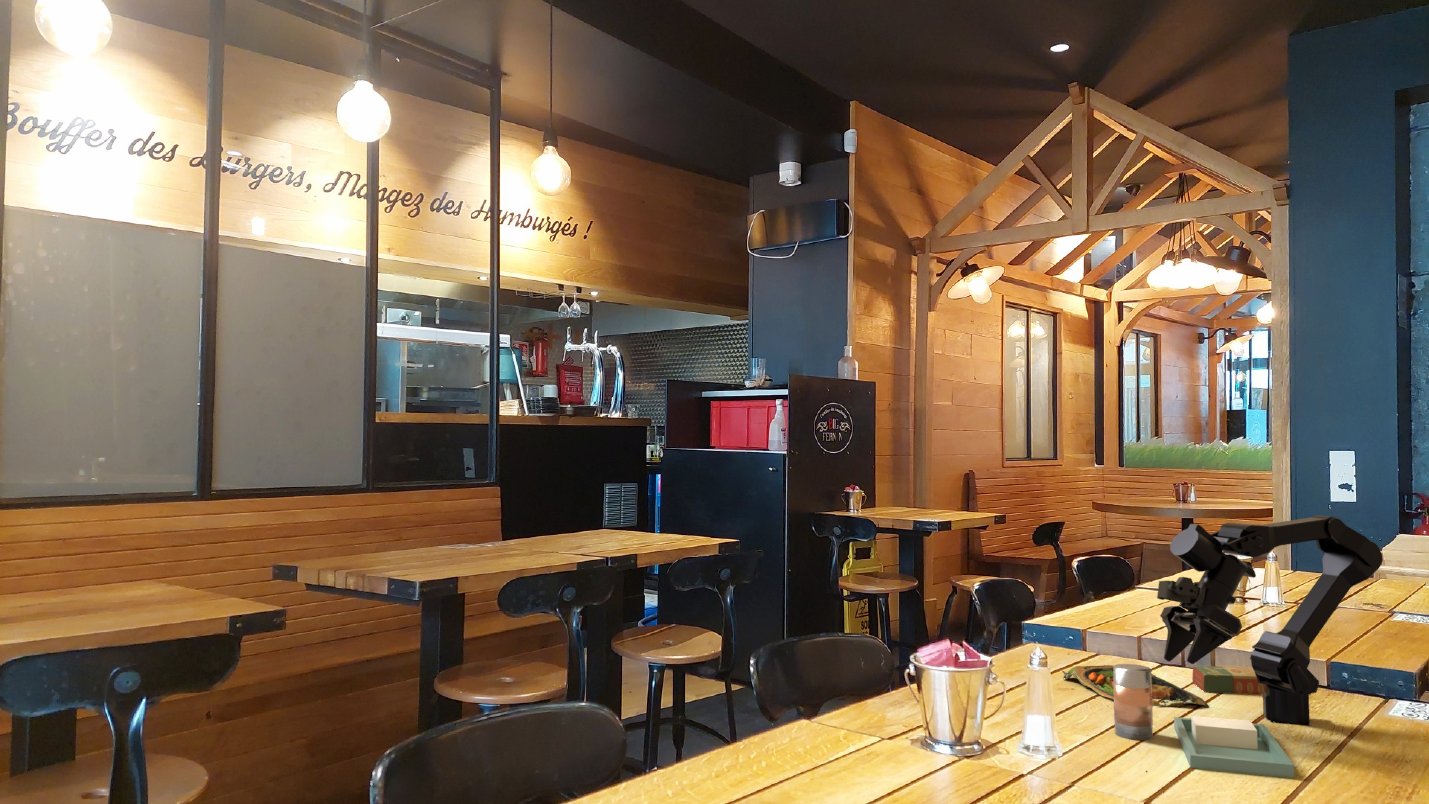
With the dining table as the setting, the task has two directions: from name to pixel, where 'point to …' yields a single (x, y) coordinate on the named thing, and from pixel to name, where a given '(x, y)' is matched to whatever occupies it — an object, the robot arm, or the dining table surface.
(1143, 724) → the tin can
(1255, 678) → the carton
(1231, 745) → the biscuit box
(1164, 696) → the prepared meal
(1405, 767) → the dining table surface
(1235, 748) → the tray
